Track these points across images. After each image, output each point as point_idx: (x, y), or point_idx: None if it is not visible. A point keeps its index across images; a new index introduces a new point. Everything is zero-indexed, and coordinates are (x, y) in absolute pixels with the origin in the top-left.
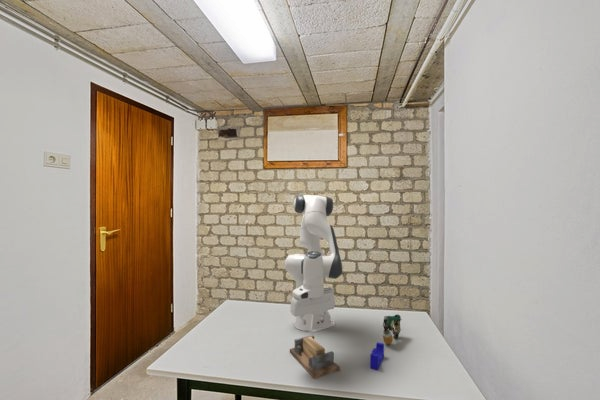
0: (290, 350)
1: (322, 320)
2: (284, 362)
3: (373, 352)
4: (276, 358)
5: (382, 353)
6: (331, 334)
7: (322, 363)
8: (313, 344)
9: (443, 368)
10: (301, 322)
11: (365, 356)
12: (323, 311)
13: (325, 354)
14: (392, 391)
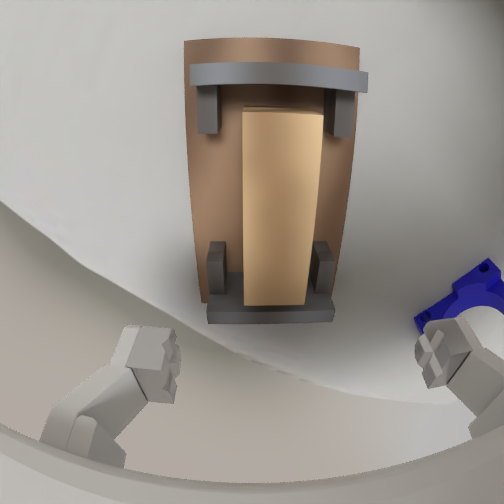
0: (185, 51)
1: (415, 355)
2: (123, 133)
3: (481, 286)
4: (99, 83)
5: (486, 305)
6: (488, 30)
7: None
8: (270, 236)
9: (498, 353)
10: (123, 346)
11: (465, 256)
12: (488, 409)
13: (282, 321)
14: (365, 389)
